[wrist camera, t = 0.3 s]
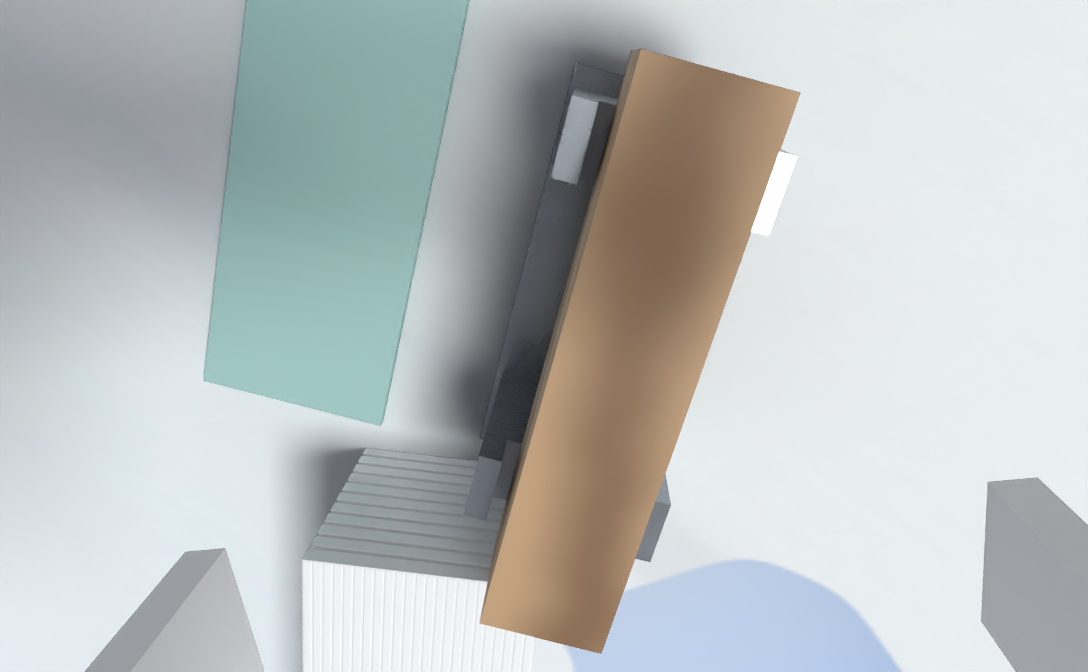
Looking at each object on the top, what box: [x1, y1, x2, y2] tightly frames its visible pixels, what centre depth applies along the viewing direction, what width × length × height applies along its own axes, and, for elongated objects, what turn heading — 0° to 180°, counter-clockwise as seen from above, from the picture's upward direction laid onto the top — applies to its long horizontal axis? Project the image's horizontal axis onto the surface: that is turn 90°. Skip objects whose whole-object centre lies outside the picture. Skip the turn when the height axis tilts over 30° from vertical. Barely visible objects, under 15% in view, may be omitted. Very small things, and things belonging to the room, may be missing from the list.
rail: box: [479, 49, 800, 653], centre depth 30 cm, size 5×22×6 cm, turn 166°
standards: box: [464, 63, 797, 562], centre depth 36 cm, size 9×20×10 cm, turn 166°
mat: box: [204, 0, 469, 426], centre depth 39 cm, size 10×24×1 cm, turn 166°
